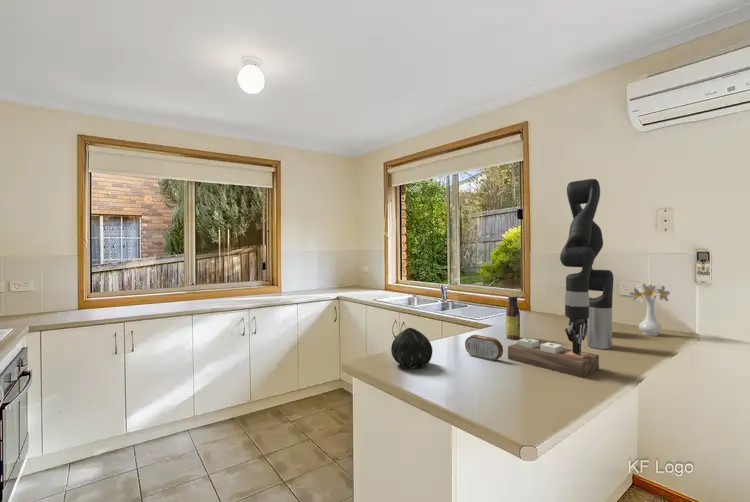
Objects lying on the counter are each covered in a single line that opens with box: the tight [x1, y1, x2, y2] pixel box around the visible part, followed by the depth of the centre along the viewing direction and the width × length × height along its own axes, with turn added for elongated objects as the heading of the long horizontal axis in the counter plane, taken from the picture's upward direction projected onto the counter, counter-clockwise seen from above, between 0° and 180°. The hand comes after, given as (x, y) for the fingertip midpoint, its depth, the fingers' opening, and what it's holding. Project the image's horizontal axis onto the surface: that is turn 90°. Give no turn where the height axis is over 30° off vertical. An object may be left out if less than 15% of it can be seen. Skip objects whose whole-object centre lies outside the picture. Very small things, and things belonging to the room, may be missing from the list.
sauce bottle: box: [505, 295, 521, 340], centre depth 179 cm, size 7×6×20 cm
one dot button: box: [540, 341, 564, 354], centre depth 140 cm, size 6×6×4 cm
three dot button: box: [565, 351, 589, 359], centre depth 133 cm, size 6×6×4 cm
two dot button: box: [517, 337, 540, 348], centre depth 147 cm, size 6×6×4 cm
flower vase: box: [629, 283, 671, 337], centre depth 185 cm, size 13×18×25 cm
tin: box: [464, 334, 504, 361], centre depth 147 cm, size 15×3×8 cm, turn 47°
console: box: [507, 342, 600, 379], centre depth 140 cm, size 14×27×5 cm, turn 39°
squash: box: [390, 327, 434, 369], centre depth 138 cm, size 14×15×15 cm
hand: (576, 353), depth 133 cm, fingers closed
